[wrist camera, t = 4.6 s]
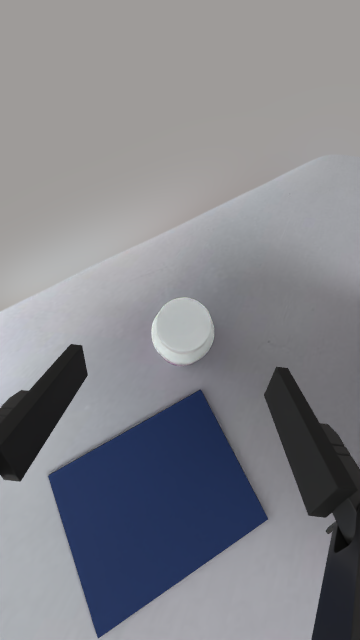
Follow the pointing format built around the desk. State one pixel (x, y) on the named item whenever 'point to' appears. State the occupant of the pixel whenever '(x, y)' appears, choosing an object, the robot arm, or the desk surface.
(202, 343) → the pill bottle
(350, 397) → the desk surface
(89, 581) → the cloth
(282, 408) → the robot arm
